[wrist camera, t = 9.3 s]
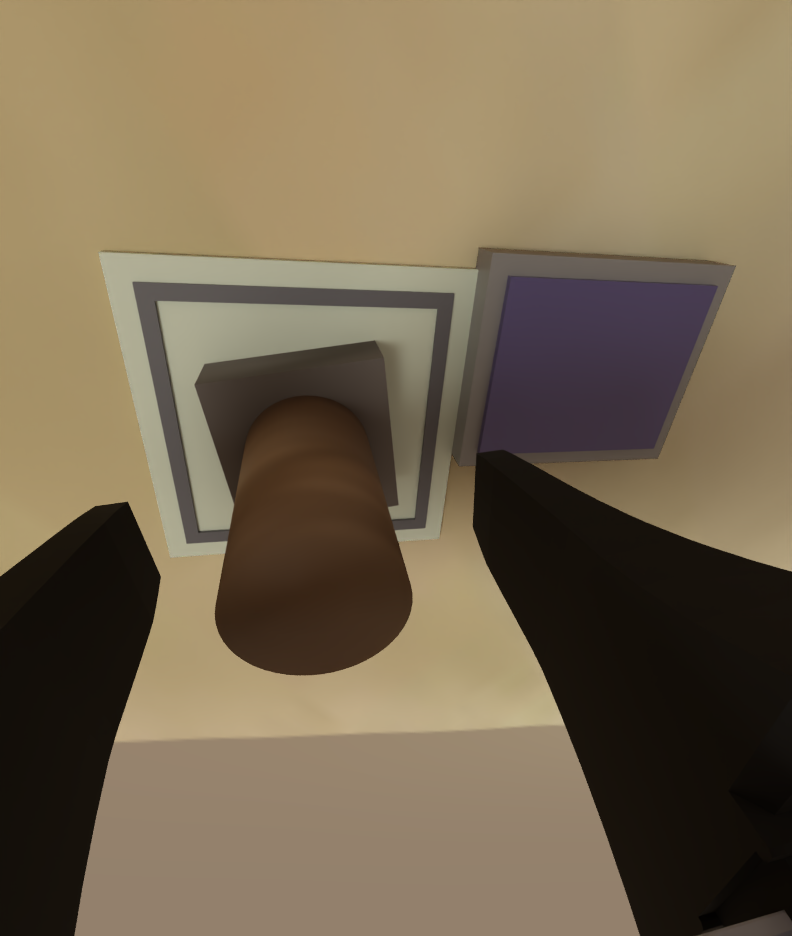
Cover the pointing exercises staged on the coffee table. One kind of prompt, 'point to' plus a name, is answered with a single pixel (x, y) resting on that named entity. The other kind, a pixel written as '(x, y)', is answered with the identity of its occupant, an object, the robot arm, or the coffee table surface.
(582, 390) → the ink pad
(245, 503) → the stamp
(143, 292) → the sheet
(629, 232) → the coffee table surface
